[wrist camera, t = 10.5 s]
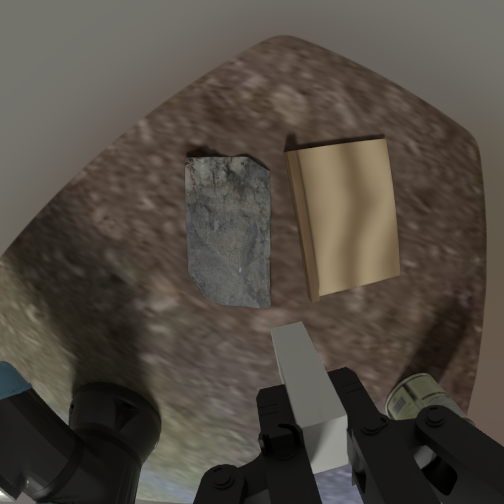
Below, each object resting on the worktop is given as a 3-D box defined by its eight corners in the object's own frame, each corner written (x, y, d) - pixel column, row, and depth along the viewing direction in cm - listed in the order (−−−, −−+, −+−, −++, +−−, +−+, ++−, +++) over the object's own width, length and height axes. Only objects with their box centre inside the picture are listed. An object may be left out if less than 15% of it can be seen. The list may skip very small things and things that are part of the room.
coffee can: (428, 408, 49) (463, 456, 36) (380, 423, 49) (411, 478, 35) (439, 365, 47) (484, 412, 33) (389, 380, 46) (429, 436, 32)
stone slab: (274, 307, 39) (192, 314, 38) (272, 302, 41) (192, 308, 40) (270, 153, 35) (180, 157, 34) (267, 154, 37) (181, 158, 36)
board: (308, 296, 41) (312, 302, 39) (283, 152, 36) (286, 151, 34) (397, 273, 41) (404, 278, 39) (383, 138, 37) (390, 137, 35)
